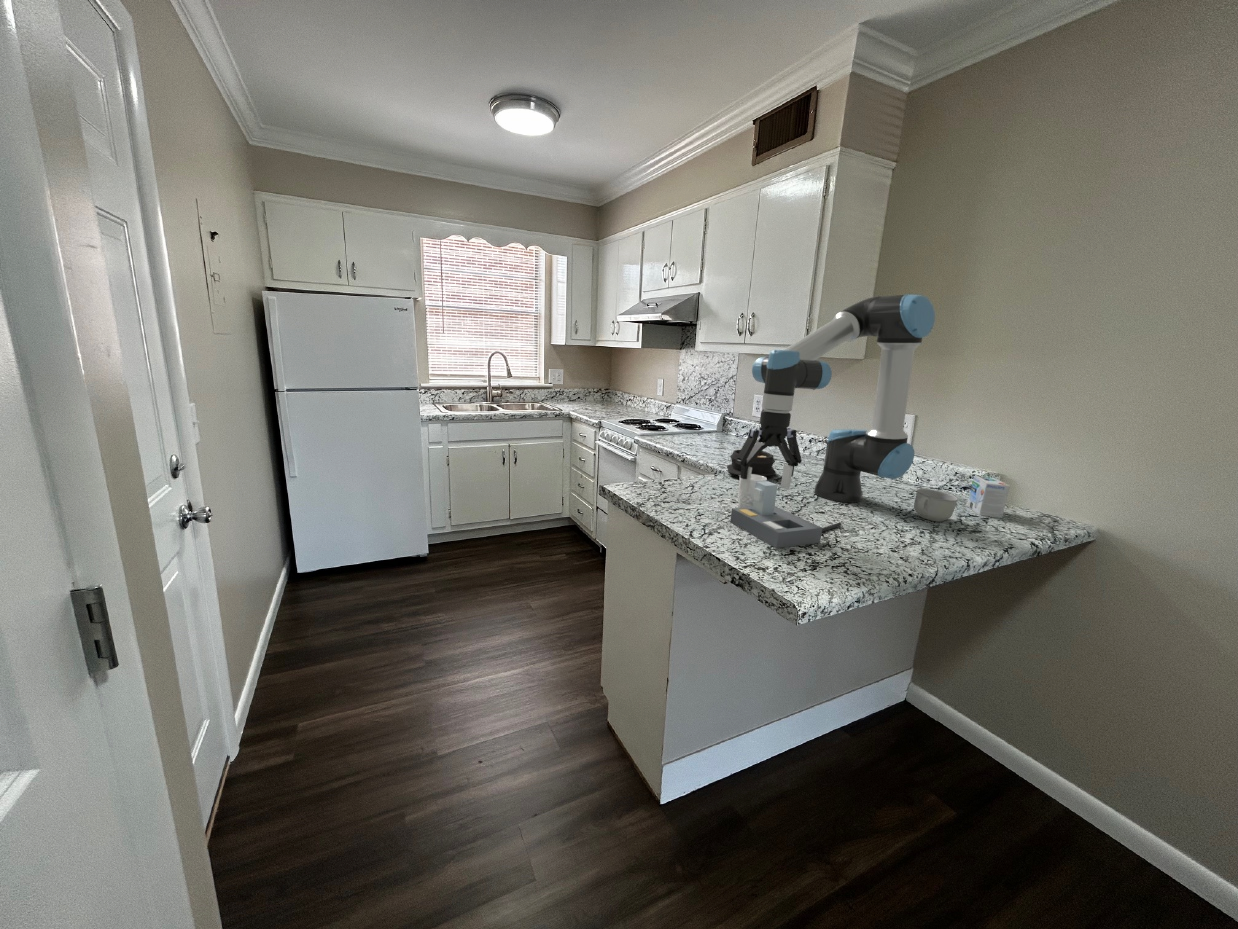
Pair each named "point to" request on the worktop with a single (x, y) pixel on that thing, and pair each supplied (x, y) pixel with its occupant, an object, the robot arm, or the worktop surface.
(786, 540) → the panel
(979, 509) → the light bulb box
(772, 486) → the plug
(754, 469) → the casserole
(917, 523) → the worktop surface
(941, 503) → the teacup
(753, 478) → the white cup
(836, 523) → the patch cord
